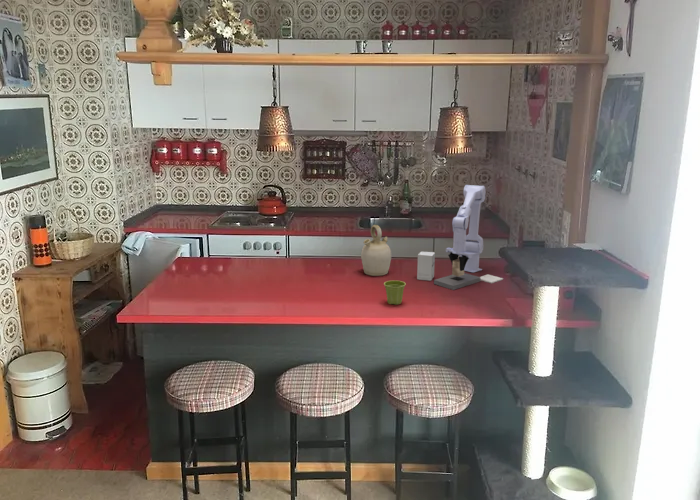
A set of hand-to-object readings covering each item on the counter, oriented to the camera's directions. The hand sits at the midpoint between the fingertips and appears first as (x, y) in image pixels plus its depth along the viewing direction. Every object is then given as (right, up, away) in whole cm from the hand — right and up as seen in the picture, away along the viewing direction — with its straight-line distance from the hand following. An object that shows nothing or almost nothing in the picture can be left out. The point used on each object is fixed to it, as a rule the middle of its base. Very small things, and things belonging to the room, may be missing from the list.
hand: (458, 269), depth 281 cm
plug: (0, -3, +1) cm, 3 cm away
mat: (+17, -5, +7) cm, 19 cm away
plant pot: (-32, -14, -25) cm, 43 cm away
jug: (-38, -2, +19) cm, 43 cm away
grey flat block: (0, -6, +2) cm, 7 cm away
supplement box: (-14, -5, +9) cm, 18 cm away
